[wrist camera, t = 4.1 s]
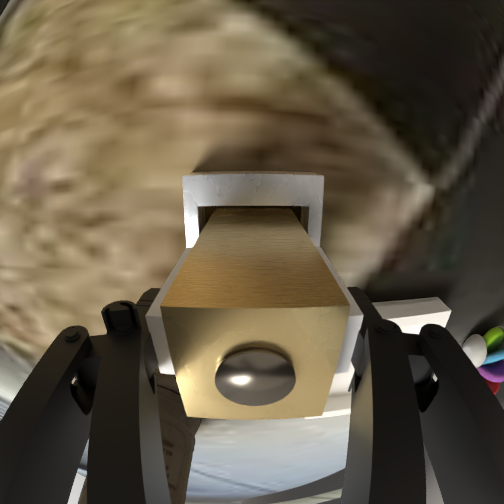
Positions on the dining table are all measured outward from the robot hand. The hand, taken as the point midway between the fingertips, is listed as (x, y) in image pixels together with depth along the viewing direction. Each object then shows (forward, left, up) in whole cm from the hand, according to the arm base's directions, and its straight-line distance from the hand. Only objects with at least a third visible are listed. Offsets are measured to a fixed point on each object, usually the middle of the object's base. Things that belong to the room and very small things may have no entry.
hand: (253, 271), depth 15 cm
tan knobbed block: (0, 0, -4) cm, 4 cm away
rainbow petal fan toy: (+14, +28, -5) cm, 32 cm away
